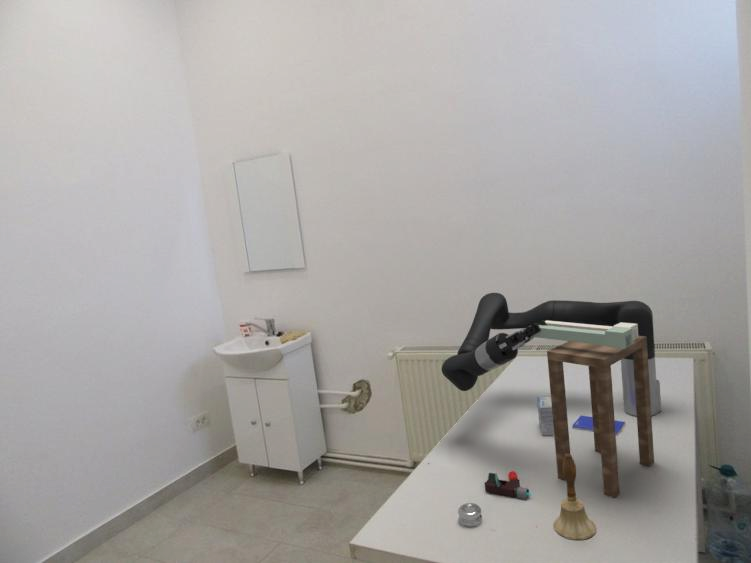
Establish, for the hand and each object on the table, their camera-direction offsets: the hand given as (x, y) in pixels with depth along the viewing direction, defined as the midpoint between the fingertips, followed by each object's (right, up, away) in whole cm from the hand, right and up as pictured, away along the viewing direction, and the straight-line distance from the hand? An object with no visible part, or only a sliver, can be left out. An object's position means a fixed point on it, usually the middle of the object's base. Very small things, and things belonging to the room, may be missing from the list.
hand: (541, 325), depth 129 cm
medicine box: (+10, -33, +26) cm, 43 cm away
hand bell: (+1, -40, -19) cm, 45 cm away
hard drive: (+24, -32, +24) cm, 47 cm away
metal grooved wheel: (-19, -42, -12) cm, 48 cm away
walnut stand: (+16, -35, +1) cm, 39 cm away
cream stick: (+13, -3, +5) cm, 14 cm away
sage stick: (+6, -3, -7) cm, 9 cm away
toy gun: (-8, -39, -1) cm, 40 cm away
